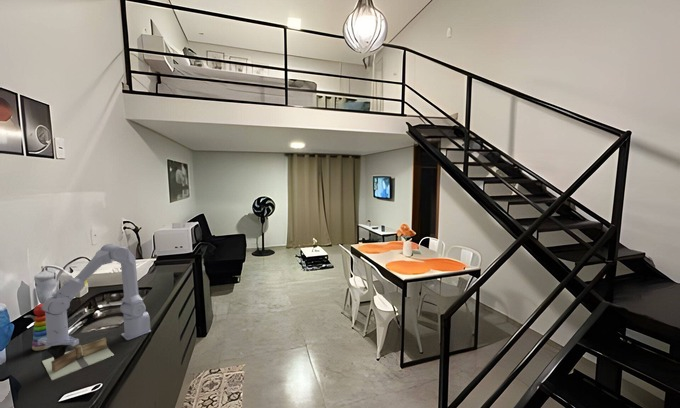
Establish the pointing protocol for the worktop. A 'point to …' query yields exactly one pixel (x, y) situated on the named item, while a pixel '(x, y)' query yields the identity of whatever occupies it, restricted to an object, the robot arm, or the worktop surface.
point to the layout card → (77, 363)
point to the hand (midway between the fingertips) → (59, 362)
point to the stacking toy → (39, 328)
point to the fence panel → (63, 360)
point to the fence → (90, 348)
